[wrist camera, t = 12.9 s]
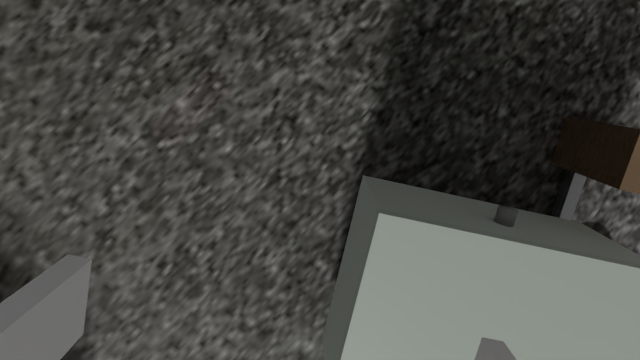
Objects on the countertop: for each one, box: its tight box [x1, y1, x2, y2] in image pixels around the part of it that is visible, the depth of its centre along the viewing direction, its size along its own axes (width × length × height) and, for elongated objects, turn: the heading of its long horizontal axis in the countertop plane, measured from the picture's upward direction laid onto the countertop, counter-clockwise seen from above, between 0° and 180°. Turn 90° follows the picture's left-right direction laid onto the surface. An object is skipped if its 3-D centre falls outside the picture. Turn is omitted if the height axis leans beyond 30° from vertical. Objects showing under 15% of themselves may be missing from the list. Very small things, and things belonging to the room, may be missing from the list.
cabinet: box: [323, 175, 640, 360], centre depth 37 cm, size 18×21×16 cm
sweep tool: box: [551, 117, 640, 220], centre depth 39 cm, size 15×4×10 cm, turn 168°
